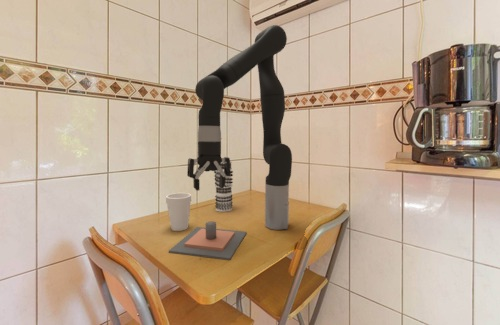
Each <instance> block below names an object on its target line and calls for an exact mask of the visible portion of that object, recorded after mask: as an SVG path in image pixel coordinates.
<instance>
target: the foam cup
mask: <svg viewBox="0 0 500 325" xmlns="http://www.w3.org/2000/svg"><path fill="white" fill-rule="evenodd" d="M191 202H192V194H191V193H187V192H176V193H175V192H174V193H169V194H167V195H166V196H165V203H166V205H167V210H168V211H167V212H168V216H169V217H168V218H169V222H170V228H171V230H172V231H174V232H179V231H185V230H187V229H188V228H189V221H190V213H191Z"/></svg>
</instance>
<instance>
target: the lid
mask: <svg viewBox="0 0 500 325" xmlns="http://www.w3.org/2000/svg"><path fill="white" fill-rule="evenodd" d="M205 228H206V229H201V230H199V231H198V232H197V233H196V234H195V235H194V236H193V237H192V238H190V239H189V240H188V241H187V242H186V243H185V244H184V247H191V248H199V249H208V250H216V251H223V250H224V249H225V247H226V246H227V245H228V243H229V242H230V241H231V239H232V238H233V236H234V235H235V232H231V231H221V230H216V229H217V222H216V221H207V222H205Z"/></svg>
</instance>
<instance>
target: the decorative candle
mask: <svg viewBox="0 0 500 325" xmlns="http://www.w3.org/2000/svg"><path fill="white" fill-rule="evenodd" d="M219 166H220V167H221V168H222V170H223V172H224V164H223V162H221V164H220V165H219ZM213 173H214V175H213V176H214V181H215V182H214V184H215V186H214V187H215V196H214V197H215V198H214V199H215V203H214V204H215V206H214V207H215V211H217V212H221V213H225V212H230V211H232V210H233V194H232V187H233V183H234V182H233V180H234V179H233V178H232V177H233V176H234V174H233V173H234V171H233V170H232V161H231V160H230V175H227V176H225V186H224V188H220V187H219V177H220V175H219V174H218V172H217V171H216V170H215V171H213Z"/></svg>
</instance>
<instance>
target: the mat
mask: <svg viewBox="0 0 500 325" xmlns="http://www.w3.org/2000/svg"><path fill="white" fill-rule="evenodd" d="M201 229H206V227H204V226H203V227H201V226H196V227H195V228H194V229H193V230H192V231H191V232H189V233H188V234H187V235H185V237H183V238H182V239H181V240H179V241H178V242H177V243H176V244H174V245H173V246H172V247H171V248H169V249H168V253H171V254H179V255H186V256H193V257H194V256H195V257H200V258H201V257H203V258H209V259H210V258H211V259H217V260H218V259H219V260H227V261H230V260H232V257H233V256H234V254H235V253H236V251H237V250H238V248H239V247H240V245H241V243H242V242H243V239H244V238H245V237H246V235H247V231H244V230H234V229H232V230H231V229H223V228H221V229H220V228H216V230H221V231H231V232H235V235H234V236H233V238H232V239H231V241H230V242H229V243H228V245H227V246H226V247H225V249H224V250H223V251H216V250H208V249H199V248H191V247H184V244H185V243H186V242H187V241H188V240H189V239H190V238H192V237H193V236H194V235H195V234H196V233H197V232H198V231H199V230H201Z"/></svg>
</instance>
